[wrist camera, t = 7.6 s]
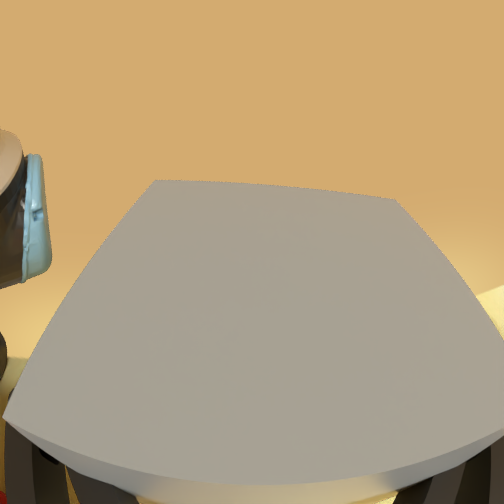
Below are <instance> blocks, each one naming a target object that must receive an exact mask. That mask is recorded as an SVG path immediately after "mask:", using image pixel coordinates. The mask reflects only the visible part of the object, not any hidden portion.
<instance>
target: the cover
mask: <svg viewBox="0 0 504 504" xmlns="http://www.w3.org/2000/svg"><path fill="white" fill-rule="evenodd" d="M2 418H3V419H4V420H5V421H7V422H8V423H9V424H10V425H11V426H12V427H14V428H15V429H16V430H17V431H18V432H20V433H21V434H22V435H24V436H25V437H26V438H27V439H29V440H30V441H31V442H33V443H34V444H35V445H37V446H38V447H39V448H41V449H42V450H44V451H45V452H46V453H48V454H49V455H51V456H52V457H54V458H55V459H57V460H58V461H60V462H61V463H63V464H65V465H66V466H68V467H69V468H71V469H73V470H74V471H76V472H78V473H80V474H82V475H85V476H88V477H91V478H94V479H97V480H100V481H103V482H106V483H109V484H112V485H114V486H115V487H117V488H119V489H121V490H123V491H125V492H127V493H129V494H131V495H133V496H135V497H136V499H137V501H138V502H139V503H141V504H375V503H378V502H380V501H383V500H386V499H389V498H391V497H394V496H396V495H397V494H398V492H400V491H402V490H404V489H407V488H409V487H411V486H413V485H415V484H418V483H420V482H422V481H424V480H426V479H428V478H430V477H432V476H434V475H436V474H439V473H442V472H444V471H447V470H449V469H451V468H454V467H456V466H458V465H460V464H462V463H463V462H465V461H467V460H468V459H470V458H471V457H473V456H475V455H476V454H478V453H479V452H481V451H482V450H484V449H485V448H487V447H488V446H490V445H491V444H493V443H494V442H495V441H497V440H498V439H500V438H501V437H502V436H504V340H503V339H502V337H501V335H500V334H499V332H498V330H497V329H496V327H495V325H494V324H493V322H492V321H491V319H490V318H489V316H488V314H487V313H486V311H485V310H484V308H483V307H482V305H481V304H480V302H479V301H478V299H477V298H476V297H475V295H474V294H473V292H472V291H471V289H470V288H469V287H468V285H467V284H466V283H465V281H464V280H463V279H462V277H461V276H460V275H459V273H458V272H457V271H456V269H455V268H454V267H453V265H452V264H451V263H450V262H449V260H448V259H447V258H446V257H445V255H444V254H443V253H442V252H441V250H440V249H439V248H438V247H437V245H436V244H435V243H434V242H433V241H432V240H431V238H430V237H429V236H428V235H427V234H426V233H425V231H424V230H423V229H422V228H421V227H420V226H419V225H418V223H416V221H415V220H414V219H413V218H412V217H411V216H410V215H409V214H408V213H407V212H406V211H405V209H404V208H403V207H402V206H401V205H400V204H399V203H398V202H397V201H396V200H394V199H387V198H381V197H374V196H367V195H360V194H352V193H343V192H336V191H326V190H318V189H308V188H298V187H287V186H274V185H262V184H248V183H231V182H210V181H209V182H208V181H181V180H155V181H154V182H153V183H152V184H151V185H150V186H149V188H148V189H147V190H146V191H145V192H144V193H143V194H142V195H141V197H140V198H139V199H138V200H137V201H136V203H135V204H134V205H133V206H132V207H131V208H130V210H129V211H128V212H127V213H126V215H125V216H124V217H123V218H122V220H121V221H120V222H119V223H118V225H117V226H116V227H115V228H114V230H113V231H112V232H111V233H110V235H109V236H108V238H107V239H106V240H105V241H104V242H103V244H102V245H101V247H100V248H99V249H98V251H97V252H96V253H95V255H94V256H93V257H92V259H91V260H90V261H89V263H88V264H87V266H86V267H85V269H84V270H83V272H82V273H81V274H80V276H79V277H78V279H77V280H76V282H75V283H74V285H73V286H72V288H71V289H70V291H69V292H68V294H67V295H66V297H65V298H64V300H63V301H62V303H61V305H60V306H59V308H58V309H57V311H56V313H55V314H54V316H53V318H52V319H51V321H50V323H49V324H48V326H47V328H46V330H45V331H44V333H43V335H42V336H41V338H40V340H39V342H38V344H37V345H36V347H35V349H34V351H33V353H32V355H31V356H30V358H29V360H28V362H27V364H26V366H25V368H24V370H23V372H22V374H21V376H20V378H19V380H18V382H17V384H16V386H15V389H14V391H13V393H12V395H11V397H10V400H9V402H8V404H7V407H6V409H5V411H4V414H3V416H2Z"/></svg>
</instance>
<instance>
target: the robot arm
mask: <svg viewBox="0 0 504 504" xmlns="http://www.w3.org/2000/svg"><path fill="white" fill-rule="evenodd" d="M51 261H52V249H51V241H50V232H49V224H48V215H47V206H46V196H45V185H44V172H43V162H42V158H41V156H40V155H38V154H35V155H33V154H29V155H27V156H26V157H24V155H23V151H22V147H21V144H20V140H19V139H18V137H17V136H15V135H14V134H13V133H11V132H8V131H5V130H1V129H0V289H2V288H5V287H8V286H11V285H15V284H17V283H24V282H25V281H26V280H27V279H30V278H32V277H35V276H37V275H40V274H42V273H44V272H45V271H47V270H48V268H49V267H50V264H51ZM6 360H7V347H6V342H5V340H4V338H3V336H2V334H1V332H0V380H1V378H2V375H3V372H4V369H5V366H6ZM14 389H15V388H14ZM14 389H13V390H12V391H11V392H10V394H9V398H8V402H9V400H10V397H11V395H12V393H13V391H14ZM4 459H5V486H6V498H7V504H70V503H69V496H68V490H67V482H66V474H65V464H63V463H61V462H60V461H58V460H57V459H55V458H54V457H52V456H51V455H49V454H48V453H46V452H45V451H44V450H42V449H41V448H39V447H38V446H37V445H35V444H34V443H33V442H31V441H30V440H29V439H27V438H26V437H25V436H24V435H22V434H21V433H20V432H18V431H17V430H16V429H15V428H14V427H12V426H11V425H10V424H9V423H8V422H7V421H6V426H5V454H4ZM66 468H67V471H68V474H69V477H70V479H71V482H72V485H73V488H74V490H75V493H76V495H77V498H78V500H79V503H80V504H139V502H138V501H137V499H136V497H135V496H133V495H131V494H129V493H127V492H125V491H123V490H121V489H119V488H117V487H115V486H114V485H112V484H109V483H106V482H103V481H100V480H97V479H94V478H91V477H88V476H85V475H82V474H80V473H78V472H76V471H74V470H73V469H71V468H69V467H68V466H66ZM393 504H504V436H502V437H501V438H500V439H498V440H497V441H495V442H494V443H493V444H491V445H490V446H488V447H487V448H485V449H484V450H482V451H481V452H479V453H478V454H476V455H475V456H473V457H471V458H470V459H468V460H467V461H465V462H463V463H462V464H460V465H458V466H456V467H454V468H451V469H449V470H447V471H444V472H442V473H439V474H436V475H434V476H432V477H430V478H428V479H426V480H424V481H422V482H420V483H418V484H415V485H413V486H411V487H409V488H407V489H404V490H402V491H400V492H398V494H397V496H396V498H395V500H394V502H393Z"/></svg>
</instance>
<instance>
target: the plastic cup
mask: <svg viewBox="0 0 504 504" xmlns="http://www.w3.org/2000/svg"><path fill="white" fill-rule="evenodd" d="M0 504H7V498H6V495H5V494H4V493H3V492H2V491H0Z"/></svg>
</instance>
